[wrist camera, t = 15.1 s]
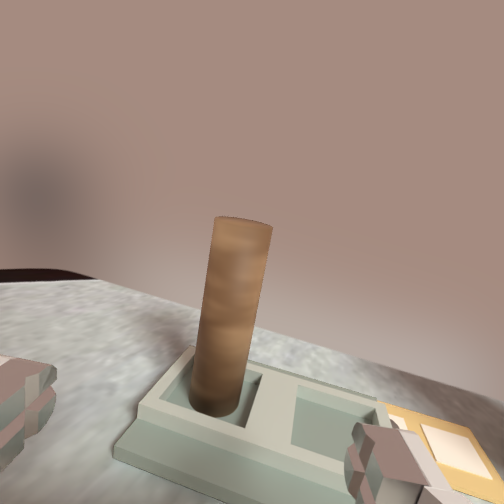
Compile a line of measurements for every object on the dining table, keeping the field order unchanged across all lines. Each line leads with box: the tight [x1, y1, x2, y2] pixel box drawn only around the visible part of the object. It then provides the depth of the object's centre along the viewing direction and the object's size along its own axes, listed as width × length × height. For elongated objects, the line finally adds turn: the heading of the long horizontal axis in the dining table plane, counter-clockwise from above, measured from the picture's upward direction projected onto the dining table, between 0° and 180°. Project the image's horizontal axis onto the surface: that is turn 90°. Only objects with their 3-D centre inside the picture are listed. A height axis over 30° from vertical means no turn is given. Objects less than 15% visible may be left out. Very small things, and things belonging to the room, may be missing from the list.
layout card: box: [377, 400, 504, 504], centre depth 21 cm, size 9×6×1 cm, turn 77°
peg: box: [189, 216, 273, 418], centre depth 19 cm, size 3×3×12 cm
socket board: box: [113, 345, 392, 504], centre depth 19 cm, size 15×11×2 cm
